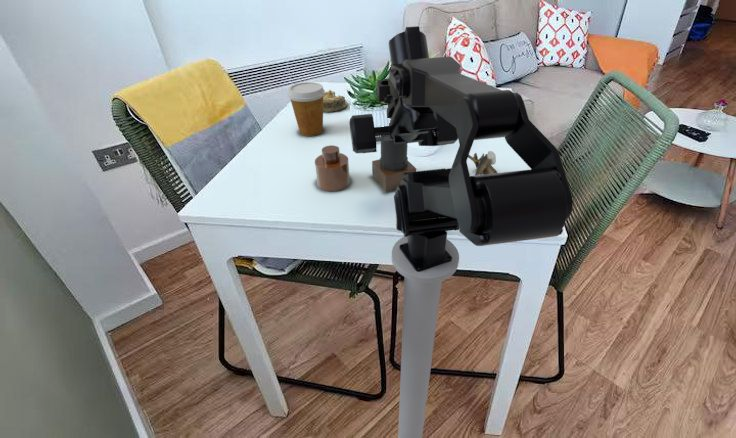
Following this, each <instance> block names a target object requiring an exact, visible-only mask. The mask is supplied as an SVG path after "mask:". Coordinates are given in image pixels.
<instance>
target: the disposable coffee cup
mask: <svg viewBox="0 0 736 438" xmlns="http://www.w3.org/2000/svg"><path fill="white" fill-rule="evenodd" d="M325 92H326V90H325V89H324V87H323V85H322V84H321V83H319V82H315V81H313V82H312V81H305V82H298V83H294V84H292V85H290V86H289V88H288V92H287V97H288V98H289V100H290V103H291V107H292V110H293V113H294V116H295V120H296V124H297V127H298V131H299V134H300V135H302V136H305V137H315V136H318V135H321V134H322V132H324V112H323V96H324V93H325Z"/></svg>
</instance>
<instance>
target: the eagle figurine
mask: <svg viewBox="0 0 736 438" xmlns="http://www.w3.org/2000/svg"><path fill="white" fill-rule="evenodd" d="M478 157H479V156H478V154H477V152H475V153H474V154H473V156H471V154H469V155H468V158H467V159H469V160H470V161H472V162H473V164H474V165H475V168H476V169H475V171H474V173H473V174H472V176H476V175H485V174H494V173H498V171H497V170H496V169H495V168H494V167H493V165H495V164H496V162H497V159H496V158H497V157H496V153H495V152H494V151H491V150H489V151H488V152H487V153H484V152H483V153H482V155H481V156H480V158H478Z"/></svg>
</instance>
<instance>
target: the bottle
mask: <svg viewBox="0 0 736 438" xmlns="http://www.w3.org/2000/svg"><path fill="white" fill-rule="evenodd" d="M314 167H315V168H314V169H315V176H316V182H317V187H318V188H319V189H320V190H323V191H325V192H338V191H342V190H344V189H346V188H347V187H349V185H350V184H351V183H350V182H351V177H350V165H349V157H348V156H347V155H346V154H344V153H341V152H340V147H339V146H337V145H334V144H333V145H325V146H324V147H321V154H320V155H317V157H316V158H315V159H314Z"/></svg>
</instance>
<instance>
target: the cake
mask: <svg viewBox="0 0 736 438" xmlns="http://www.w3.org/2000/svg"><path fill="white" fill-rule="evenodd" d="M348 105H349V104H348V101H346V97H345V96H344V95H340V94H339V95H336V92H335V91H332V90H331V89H328V91H325V93H324V96H323V113H331V112H337V111H340V110H344V109H345V108H347V106H348Z"/></svg>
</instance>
